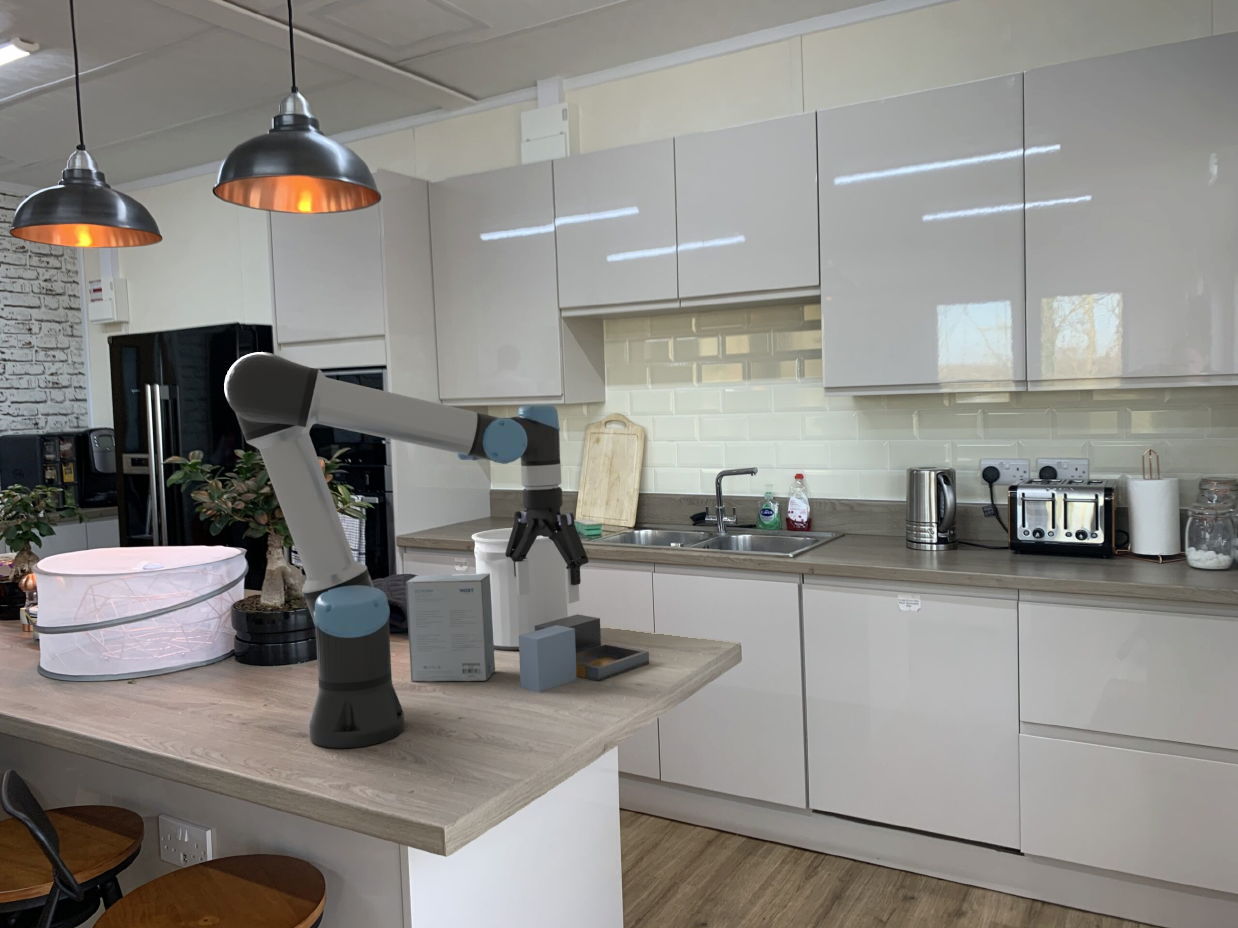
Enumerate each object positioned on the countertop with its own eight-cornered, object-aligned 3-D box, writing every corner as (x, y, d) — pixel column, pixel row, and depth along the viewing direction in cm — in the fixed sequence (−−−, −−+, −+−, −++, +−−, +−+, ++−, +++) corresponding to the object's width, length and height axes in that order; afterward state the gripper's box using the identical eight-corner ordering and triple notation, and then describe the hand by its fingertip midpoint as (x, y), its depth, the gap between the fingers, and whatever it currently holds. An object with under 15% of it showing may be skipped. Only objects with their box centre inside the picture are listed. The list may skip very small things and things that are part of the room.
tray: (598, 681, 179) (596, 640, 178) (527, 664, 192) (525, 626, 192) (649, 663, 190) (647, 624, 190) (578, 648, 203) (577, 612, 203)
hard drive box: (496, 670, 189) (492, 572, 187) (487, 681, 181) (483, 580, 180) (421, 670, 190) (416, 573, 189) (409, 682, 182) (404, 581, 181)
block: (538, 692, 173) (536, 639, 173) (520, 687, 177) (518, 635, 176) (576, 679, 181) (574, 628, 180) (558, 675, 184) (556, 625, 184)
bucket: (525, 659, 196) (521, 543, 195) (449, 647, 208) (445, 538, 207) (594, 632, 218) (591, 528, 216) (522, 623, 230) (518, 524, 228)
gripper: (603, 486, 171) (609, 601, 172) (512, 483, 188) (518, 587, 189) (575, 491, 165) (580, 609, 167) (483, 487, 182) (489, 594, 183)
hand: (547, 598), depth 178 cm, fingers open, 13 cm apart
